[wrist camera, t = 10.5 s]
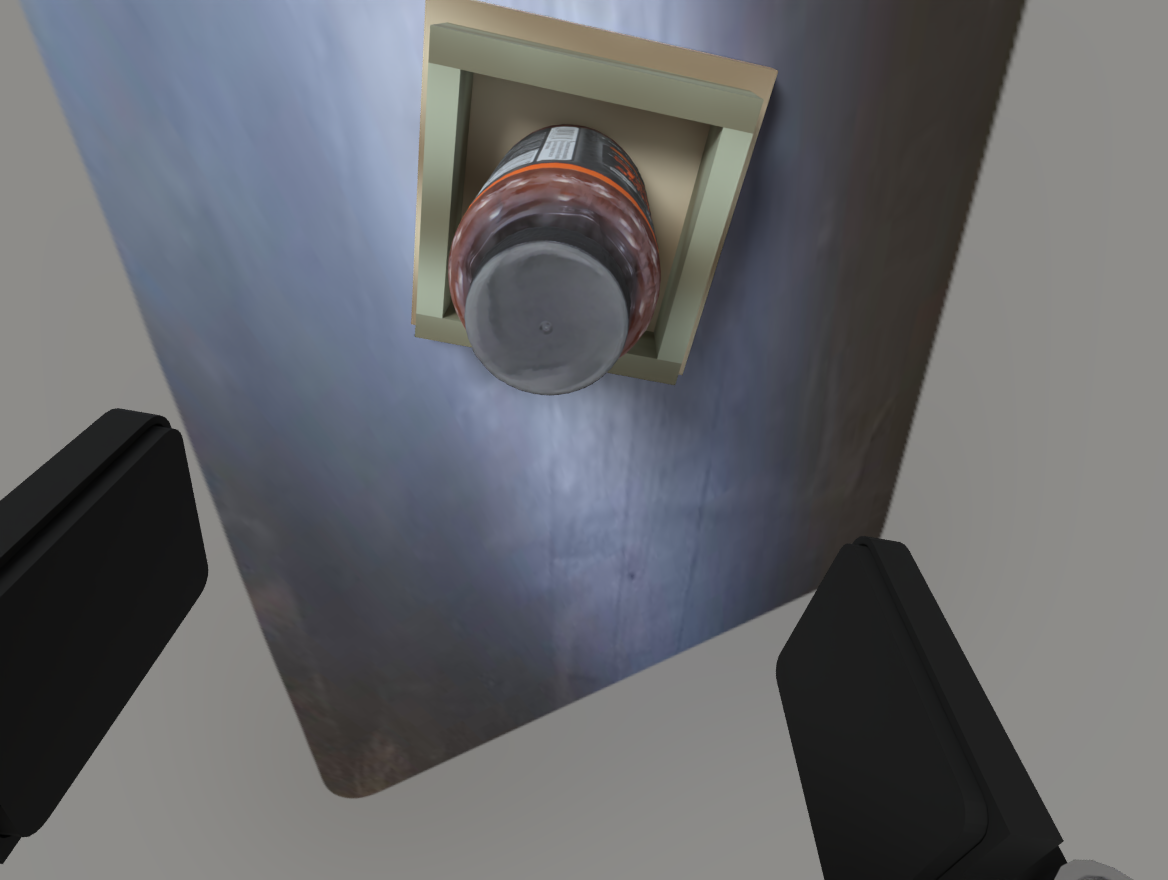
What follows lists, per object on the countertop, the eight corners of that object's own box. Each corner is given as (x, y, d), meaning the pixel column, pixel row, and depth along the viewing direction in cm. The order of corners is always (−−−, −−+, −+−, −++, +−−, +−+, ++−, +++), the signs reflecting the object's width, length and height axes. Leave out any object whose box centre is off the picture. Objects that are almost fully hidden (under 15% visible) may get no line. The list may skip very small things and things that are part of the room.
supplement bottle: (671, 240, 26) (709, 380, 16) (538, 303, 27) (504, 464, 18) (604, 86, 23) (604, 148, 13) (460, 168, 24) (370, 275, 15)
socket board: (434, -10, 22) (406, -11, 19) (770, 67, 23) (795, 78, 20) (418, 312, 29) (395, 350, 26) (679, 362, 30) (687, 404, 27)
